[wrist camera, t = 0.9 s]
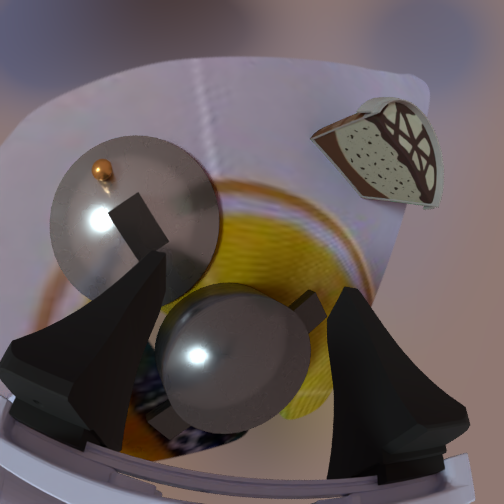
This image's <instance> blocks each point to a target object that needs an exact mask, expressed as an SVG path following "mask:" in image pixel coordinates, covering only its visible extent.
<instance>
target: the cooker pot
mask: <svg viewBox="0 0 504 504" xmlns="http://www.w3.org/2000/svg"><path fill="white" fill-rule="evenodd" d="M326 317H327V315H326V313H325V311H324V309H323V307H322V305H321V303H320V301H319V299H318V297H317V294H316V292H314V291H311V290H307V291H306V292H305V293H304V294H303V295H302V296H300V297H299V298H298V299H297V300H296V301H294V302H293V303H292V304H291V305H290V306H289V307H287V306H285V305H283V304H281V303H279V302H277V301H276V300H274V299H272V298H270V297H268V296H267V295H265V294H263V293H261V292H259V291H258V290H256V289H254V288H252V287H249V286H246V285H243V284H238V283H218V284H213V285H209V286H206V287H203V288H200V289H198V290H196V291H194V292H192V293H191V294H189V295H187V296H186V297H184V298H183V299H182V300H181V301H180V302H178V303H177V304H176V305H175V306H174V307H173V308H172V309H171V311H170V312H169V313H168V315H167V316H166V317H165V319H164V321H163V323H162V325H161V326H160V329H159V332H158V335H157V338H156V343H155V362H156V366H157V369H158V372H159V375H160V378H161V380H162V383H163V386H164V388H165V391H166V394H167V396H168V400H166V401H165V402H163V403H162V404H160V405H159V406H158V407H156V408H155V409H153V410H152V411H150V412H149V413H147V414H146V419H147V422H148V423H149V424H150V425H152V426H153V427H154V428H155V429H157V430H158V431H159V432H160V433H162V434H163V435H164V436H165V437H167V438H168V439H169V440H171V439H172V438H174V437H175V436H177V435H178V434H180V433H181V432H183V431H184V430H186V429H187V428H188V427H190V426H193V427H195V428H197V429H200V430H203V431H206V432H211V433H219V434H227V433H236V432H241V431H245V430H248V429H251V428H254V427H256V426H258V425H261V424H263V423H264V422H266V421H268V420H269V419H271V418H272V417H274V416H275V415H277V414H278V413H279V412H280V411H281V410H282V409H284V408H285V407H286V406H287V405H288V403H289V402H290V401H291V400H292V399H293V398H294V396H295V395H296V394H297V392H298V390H299V389H300V387H301V385H302V383H303V381H304V379H305V377H306V374H307V371H308V367H309V363H310V356H311V346H310V339H309V335H308V333H310V332H311V331H312V330H313V329H314V328H315V327H316V326H317V325H319V324H320V323H321V322H322V321H323V320H324V319H325V318H326Z"/></svg>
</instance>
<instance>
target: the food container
mask: <svg viewBox="0 0 504 504" xmlns="http://www.w3.org/2000/svg"><path fill="white" fill-rule="evenodd" d="M310 140H311V141H312V142H313V143H314V144H315V145H316V146H317V147H318V148H319V149H320V151H321V152H322V153H323V154H324V155H325V156H326V157H327V158H328V159H329V161H330V162H331V163H332V164H333V165H334V166H335V167H336V168H337V170H338V171H339V172H340V173H341V174H342V175H343V177H344V178H345V179H346V180H347V181H348V183H349V184H350V185H351V186H352V187H353V188H354V190H355V191H356V192H357V193H358V195H359V196H360V197H361V198H366V199H375V200H384V201H392V202H400V203H408V204H415V205H423V206H424V208H423V209H424V210H426V209H434V208H435V207H439V205H440V202H441V198H442V193H443V185H444V166H443V158H442V153H441V148H440V145H439V142H438V139H437V136H436V134H435V131H434V129H433V127H432V125H431V123H430V122H429V120H428V119H427V117H426V116H425V115H424V113H423V112H422V111H421V110H420V109H419V108H418V107H417V106H415V105H414V104H412V103H411V102H409V101H406V100H402V99H399V98H393V97H380V98H373V99H371V100H368V101H367V102H365V103H364V104H363V105H361V107H360V108H359V109H358V110H357V113H356V114H354V115H352V116H349V117H347V118H344V119H342V120H340V121H338V122H335V123H333V124H331V125H328V126H326V127H324V128H322V129H320V130H318V131H317V132H316V133H314V134H313V136H312V137H311V138H310Z"/></svg>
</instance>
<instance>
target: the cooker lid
mask: <svg viewBox="0 0 504 504" xmlns="http://www.w3.org/2000/svg"><path fill="white" fill-rule="evenodd" d="M218 233H219V210H218V204H217V200H216V196H215V193H214V190H213V187H212V185H211V183H210V181H209V179H208V177H207V176H206V174H205V173H204V171H203V170H202V168H201V167H200V166H199V165H198V163H197V162H196V161H195V160H194V159H193V158H192V157H191V156H190V155H188V154H187V153H186V152H185V151H183V150H182V149H180V148H179V147H177V146H175V145H173V144H171V143H169V142H167V141H164V140H161V139H158V138H154V137H148V136H124V137H119V138H115V139H111V140H109V141H106V142H103V143H101V144H99V145H97V146H95V147H94V148H92V149H90V150H89V151H87V152H86V153H85V154H84V155H82V156H81V157H80V158H79V159H78V160H77V161H76V162H75V163H74V164H73V165H72V166H71V167H70V169H69V170H68V171H67V173H66V174H65V175H64V177H63V179H62V181H61V182H60V184H59V186H58V189H57V191H56V194H55V196H54V200H53V203H52V207H51V214H50V237H51V243H52V247H53V251H54V254H55V257H56V259H57V262H58V264H59V266H60V268H61V270H62V271H63V273H64V275H65V276H66V277H67V279H68V280H69V281H70V282H71V284H72V285H73V286H74V287H75V288H76V289H77V290H78V291H79V292H81V293H82V294H83V295H85V296H86V297H87V298H89V299H90V300H94V299H95V298H96V297H98V296H99V295H100V294H102V293H103V292H104V291H106V290H107V289H108V288H109V287H111V286H112V285H113V284H114V283H115V282H117V281H118V280H119V279H120V278H121V277H122V276H124V275H125V274H126V273H127V272H128V271H129V270H130V269H131V268H133V267H134V266H135V265H136V264H137V263H138V262H139V261H140V260H141V259H142V258H143V257H144V256H145V255H147V254H148V253H149V252H150V251H151V250H154V251H158V252H163V253H166V292H165V296H164V299H163V303H162V306H163V305H166V304H168V303H170V302H172V301H174V300H175V299H177V298H178V297H180V296H182V295H183V294H184V293H185V292H187V291H188V290H189V289H190V288H191V287H192V286H193V285H194V284H195V283H196V282H197V281H198V280H199V278H200V277H201V276H202V274H203V273H204V271H205V270H206V268H207V266H208V264H209V263H210V261H211V258H212V256H213V253H214V251H215V247H216V243H217V239H218Z"/></svg>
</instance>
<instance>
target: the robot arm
mask: <svg viewBox="0 0 504 504" xmlns="http://www.w3.org/2000/svg"><path fill="white" fill-rule="evenodd" d="M165 292H166V253H163V252H158V251H154V250H151V251H150V252H149V253H148V254H147V255H145V256H144V257H143V258H142V259H141V260H140V261H139V262H138V263H137V264H136V265H135V266H134V267H133V268H131V269H130V270H129V271H128V272H127V273H126V274H125V275H124V276H122V277H121V278H120V279H119V280H118V281H117V282H115V283H114V284H113V285H112V286H111V287H109V288H108V289H107V290H106V291H104V292H103V293H102V294H100V295H99V296H98V297H96V298H95V299H94V300H92V301H91V302H89V303H88V304H87V305H85V306H84V307H82V308H81V309H79V310H77V311H76V312H74V313H72V314H71V315H69V316H67V317H65V318H64V319H62V320H60V321H58V322H56V323H54V324H52V325H50V326H48V327H46V328H44V329H42V330H39V331H37V332H35V333H32V334H29V335H27V336H24V337H21V338H19V339H16V340H13V341H12V342H11V344H10V345H9V347H8V348H7V350H6V352H5V354H4V356H3V358H2V359H1V361H0V379H1V381H2V382H3V383H4V384H5V385H6V387H7V388H8V389H9V390H10V391H11V392H12V393H13V394H12V395H11V396H10V397H9V398H8V399H7V398H5V397H4V396H2V395H0V504H202V503H195V502H188V501H182V500H176V499H171V498H165V497H162V493H161V492H160V491H158V490H156V487H155V486H154V485H152V484H149V483H146V482H143V481H140V480H137V479H134V478H131V477H129V476H126V475H130V476H133V477H136V478H140V479H143V480H147V481H151V482H155V483H159V484H164V485H168V486H173V487H178V488H183V489H188V490H194V491H200V492H206V493H213V494H221V495H229V496H240V497H252V498H271V499H272V498H274V499H310V498H331V497H340V498H334V499H326V500H318V501H317V502H315V503H312V504H469V503H471V502H473V501H474V500H475V493H474V486H473V480H472V474H471V468H470V463H469V458H468V454H467V453H463V454H460V455H456V456H452V457H449V458H446V459H444V460H443V455H442V454H444V453H446V444H448V443H449V442H451V441H453V440H454V439H456V438H457V437H459V436H460V435H462V434H463V433H464V432H465V431H467V430H468V428H469V426H470V422H469V418H468V414H467V411H466V407H464V406H463V405H462V404H460V403H459V402H457V401H456V400H455V399H453V398H452V397H450V396H449V395H448V394H446V393H445V392H444V391H443V390H442V389H440V388H439V387H438V386H437V385H436V384H434V383H433V382H432V381H431V380H430V379H429V378H428V377H427V376H426V375H425V374H424V373H423V372H422V371H420V369H419V368H418V367H417V366H416V365H415V364H414V363H413V362H412V361H411V360H410V359H409V357H408V356H407V355H406V354H405V353H404V352H403V351H402V349H401V348H400V347H399V346H398V345H397V343H396V342H395V341H394V339H393V338H392V337H391V335H390V334H389V332H388V331H387V330H386V328H385V327H384V326H383V324H382V323H381V321H380V320H379V318H378V317H377V316H376V314H375V313H374V311H373V310H372V308H371V307H370V305H369V304H368V302H367V301H366V300H365V298H364V297H363V295H362V294H361V293H360V291H359V290H358V289H356V288H350V287H344V288H343V290H342V292H341V294H340V296H339V298H338V300H337V302H336V304H335V306H334V308H333V309H332V311H331V313H330V315H329V317H328V319H327V343H328V351H329V358H330V365H331V373H332V381H333V390H334V422H333V438H332V448H331V456H330V463H329V469H328V475H327V480H273V479H256V478H245V477H234V476H226V475H219V474H211V473H205V472H199V471H193V470H188V469H183V468H178V467H173V466H168V465H164V464H160V463H156V462H152V461H148V460H144V459H140V458H137V457H133V456H130V455H126V454H123V453H120V452H119V451H121V448H122V441H123V434H124V428H125V422H126V417H127V412H128V407H129V402H130V397H131V393H132V389H133V385H134V381H135V377H136V373H137V369H138V366H139V363H140V360H141V357H142V354H143V352H144V349H145V347H146V344H147V342H148V339H149V337H150V334H151V332H152V330H153V327H154V325H155V322H156V320H157V318H158V315H159V313H160V310H161V306H162V303H163V299H164V296H165ZM118 472H119V473H118ZM120 473H122V474H120ZM123 474H126V475H123Z"/></svg>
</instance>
